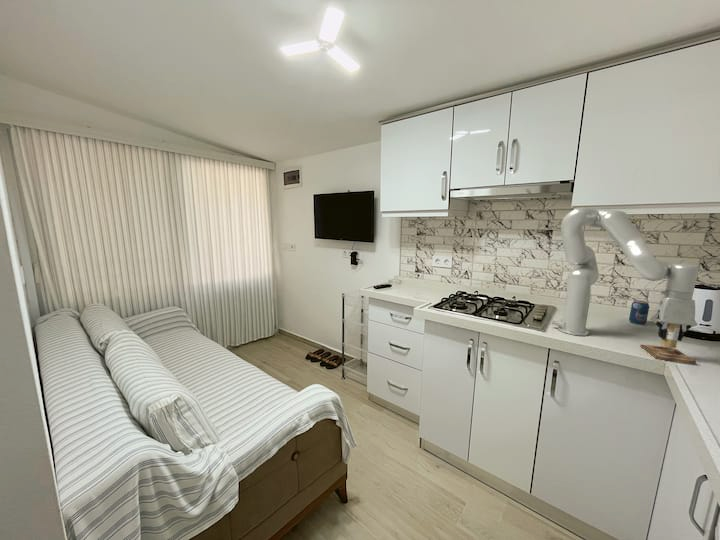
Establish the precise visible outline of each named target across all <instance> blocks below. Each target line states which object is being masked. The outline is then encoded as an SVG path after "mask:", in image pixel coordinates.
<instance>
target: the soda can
mask: <svg viewBox="0 0 720 540" xmlns="http://www.w3.org/2000/svg"><path fill="white" fill-rule="evenodd" d="M630 307H631V308H630V313H629V318H628V319H629V320H628V321H629V322H630V323H631V324H634V325H639V326H644V325H645V324H647V321H648V316H649V310H650V304H649V302H648V301H644V300H633V302H632V303H631V306H630Z"/></svg>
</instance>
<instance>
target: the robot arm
mask: <svg viewBox="0 0 720 540" xmlns="http://www.w3.org/2000/svg"><path fill="white" fill-rule="evenodd" d="M561 221H562V222H561V225H560V231H561V236H562V244H563V249H564V255H565V259H566V262H567V263H568V264H570V265H572V266H573V269H572V270H571V271H570V272H568V275H567V276H566V277H567V278H566V292H565V293H566V294H565V302H564V308H563V314H562V315H563V316H562V318H561V319H560V320H557V321H556V320H551V321H550V325H554V327H555V326H556V327H557V329H558V330H559V331H560V332H563V333H565V334H568V335H572V336H578V337H579V336H580V337H586V336H588V335H590V331H589V330H588V329H586V327H587V321H588V315H589V310H590V309H589V308H590V303H591V294H592V293H591V291H592V289H591V288H592V285H594V284H596V283H597V282H598V280H599V278H600V273H599V269H598V263H597V257H596V253H595V251H594V250H593V248H592V247H590V246H589V245H586V239H585V235H584V232H583V227H586V226H587V227H594V228H600V229H604V230H605V231H606V232H607V234H608V235H609V236H610V238H612V240H613V241H615V243H616V244H617V245H618V247H619V248H620V249H621V251H622V253H623V254H624V255H625V257H626V259H627V260H628V262H629V263H630V264H631V266H632V267H633V268H634V269H635V271H636V272H638V274H639V275H640V276H641V277H642V278H644V279H645V280H647V281H649V282H650V281H651V282H655V281H656V282H657V281H660V280H667V282H666V288H665V290H662V291H660V293H661V295H663V296H661V298H660V300H659V302H658V306H657V308H656V309H657V310H656V312H655V314H654V315H652V317H650V318H649V319H650V321H651V322H653V323H654V324H655V325H656V326H657V327H658V333H657V334H658V335H657V336H658V338H660V339H661V340H662V339H665V338H666V333H667V330H666V327H667V325H668V323H671V324H680V331H679V336H678V340H677V342H681V341H682V340H683V339H684V334H685V333H686V332H687V331H688V330H689V329H691V328H693V327H697V326H698V323H697V321H696V320H695V319H696V301H695V300H694V299H693V295H694V292H695V286H696V283H697V277H698V272H699V267H698V266H697V265H695V264H689V263H674V262H673V263H672V262H667V261H663V260H658V258H656V256H655V255H654V254H653V253H652V251H651V250H650V249H649V247H648V246H647V242H646V238H645V237H644V235H643V234H642V233H641V232H640V230H638V229H637V228H636V226H634V224H633V223H632V222H631V221H630V216H629V215H628V214H627V213H626V212H624V211H623V210H610V209H608V210H607V209H602V208H601V209H599V208H593V207H592V208H591V207H586V206H585V207H584V206H583V207H582V206H581V207H577V208H574V209H572V210H570V211H569V212H568V213H566V214H565V216H563V219H562V220H561Z"/></svg>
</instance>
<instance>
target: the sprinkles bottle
mask: <svg viewBox="0 0 720 540" xmlns="http://www.w3.org/2000/svg"><path fill="white" fill-rule="evenodd" d="M666 330H667V333H666V338H665V339H662V338H661V341H660V345H661V346H662V347H669V348H675V349H677V343H678V336H679V331H680V324H671V323H668V325H667V327H666Z"/></svg>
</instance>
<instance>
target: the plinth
mask: <svg viewBox="0 0 720 540" xmlns="http://www.w3.org/2000/svg"><path fill="white" fill-rule="evenodd" d="M639 346H640V347H641V348H642V349H644V350H645V351H646V352H647V353H646V352H645V351H644V350H643V351H644V352H645V353H646V354H648V353H649V354H650V355H651V356H650V355H649V354H648V355H649V356H650V357H652V356H653V357H654V358H655V359H660V360H659V361H662V360H665V362H669V361H670V363H678V364H684V365H692V366H696V364H697V362H696V360H694V359H693V358H691V357H689V356H688V355H687V354H685V353H684V352H682V351H681V350H679V349H677V348H669V347H665V346H663V345H661V346H660V345H655V344H654V345H653V344H640V345H639ZM640 347H639V348H640ZM641 348H640V349H641ZM642 349H641V350H642ZM653 357H652V358H653ZM654 358H653V359H654ZM655 359H654V360H655Z"/></svg>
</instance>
